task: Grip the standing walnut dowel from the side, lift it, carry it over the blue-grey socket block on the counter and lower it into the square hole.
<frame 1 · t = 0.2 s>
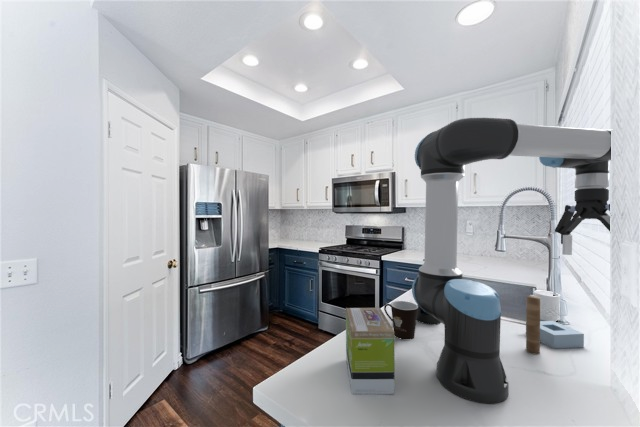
hand: (589, 257, 84), 27 cm above the counter, tool pointing down, fingers open, 13 cm apart
tea box: (367, 376, 68), on the counter
white cup: (546, 319, 106), on the counter
socket block: (553, 339, 88), on the counter
coffee mug: (401, 334, 92), on the counter
french press: (429, 320, 104), on the counter
dowel: (532, 351, 81), on the counter
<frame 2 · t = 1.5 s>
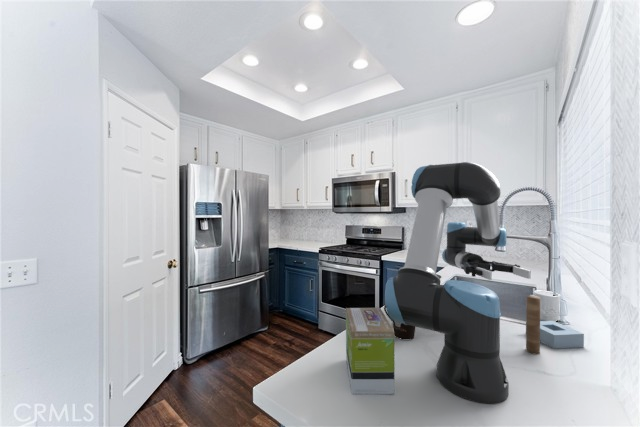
hand: (510, 275, 90), 20 cm above the counter, tool horizontal, fingers open, 13 cm apart
nothing on the counter moved.
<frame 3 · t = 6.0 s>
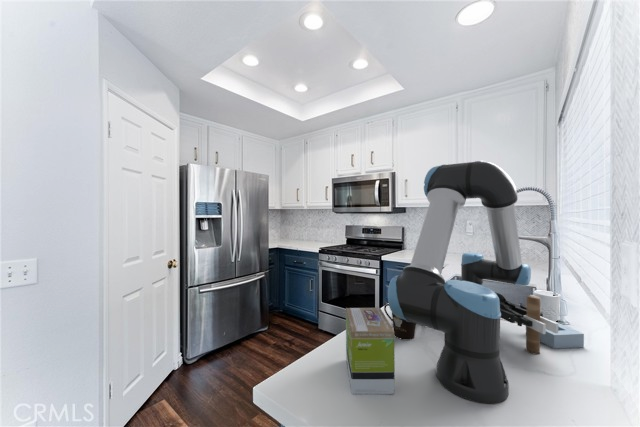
hand: (550, 328, 75), 9 cm above the counter, tool horizontal, fingers closed on dowel, 3 cm apart
dowel: (532, 351, 81), on the counter, touching gripper
everything else where it was.
when the fingers open (10 cm above the counter, at t = 10.5 s): dowel stays where it is, resting in socket block.
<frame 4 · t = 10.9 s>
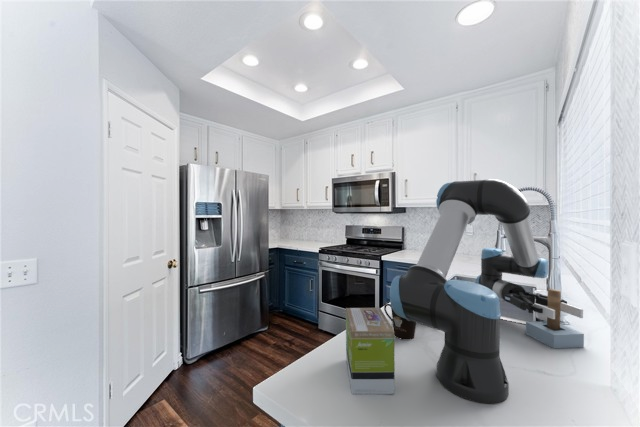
hand: (568, 314, 83), 10 cm above the counter, tool horizontal, fingers open, 9 cm apart
dowel: (553, 339, 88), resting in socket block
everything else where it was.
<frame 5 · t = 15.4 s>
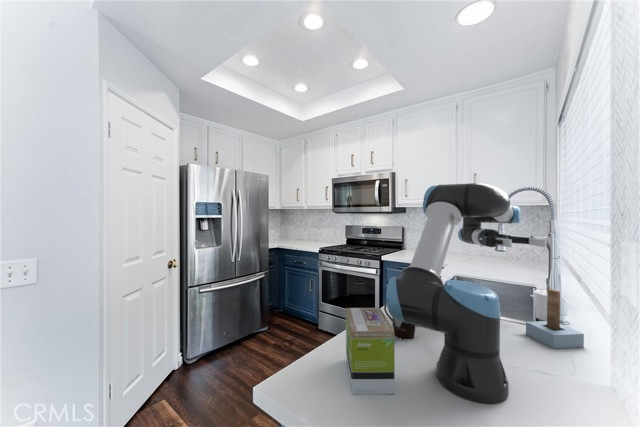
hand: (528, 243, 98), 30 cm above the counter, tool horizontal, fingers open, 13 cm apart
nothing on the counter moved.
at the end: dowel 0.0 cm off-centre on the socket block, point 0.0 cm above the socket block's base; dowel tilted 0°; the gripper is holding nothing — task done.
